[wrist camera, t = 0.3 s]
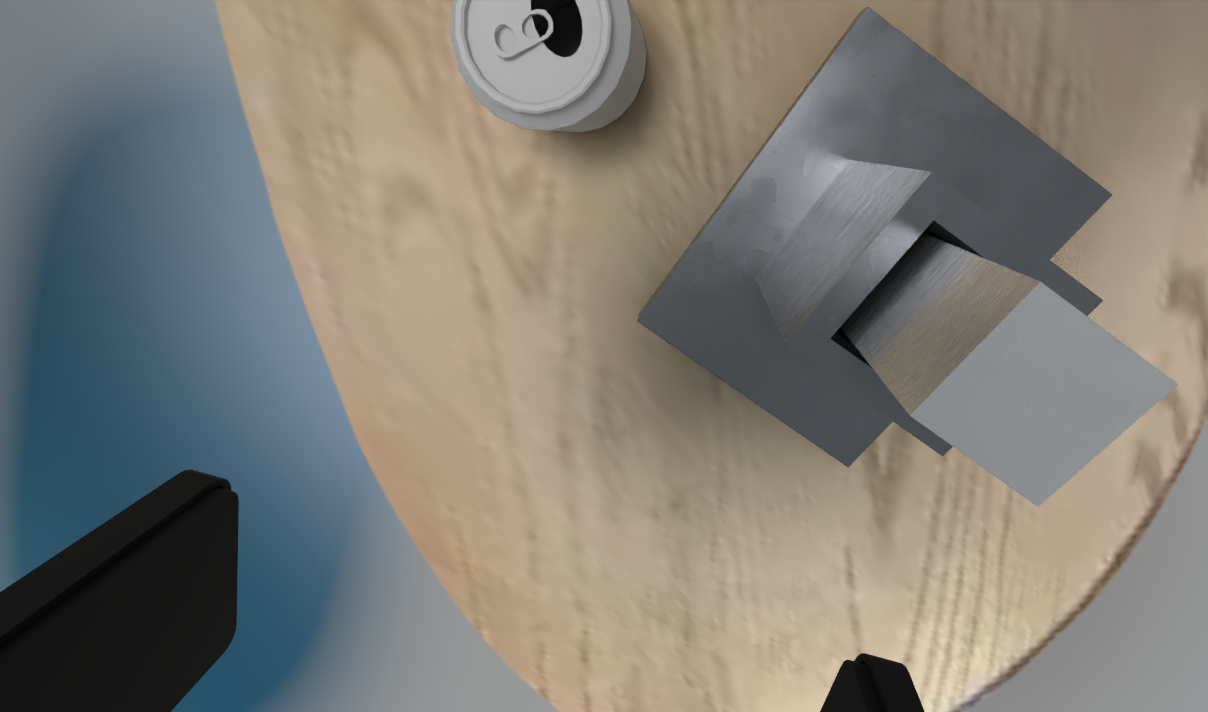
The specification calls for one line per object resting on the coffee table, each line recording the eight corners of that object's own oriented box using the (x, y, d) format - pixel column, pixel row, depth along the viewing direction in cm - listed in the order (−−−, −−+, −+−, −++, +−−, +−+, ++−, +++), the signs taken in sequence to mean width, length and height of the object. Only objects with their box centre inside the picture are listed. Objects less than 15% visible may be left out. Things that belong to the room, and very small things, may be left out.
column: (854, 202, 34) (1040, 276, 16) (924, 253, 35) (1184, 383, 16) (795, 274, 36) (904, 416, 18) (863, 322, 36) (1037, 510, 18)
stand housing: (860, 11, 33) (971, -70, 20) (1095, 192, 35) (1343, 226, 21) (639, 314, 40) (613, 401, 27) (842, 456, 41) (913, 605, 28)
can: (666, 101, 36) (655, 84, 25) (545, 152, 38) (483, 159, 26) (618, -41, 34) (582, -129, 23) (493, 21, 36) (402, -33, 24)
